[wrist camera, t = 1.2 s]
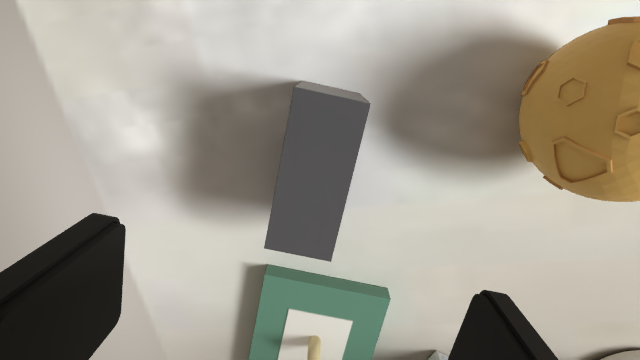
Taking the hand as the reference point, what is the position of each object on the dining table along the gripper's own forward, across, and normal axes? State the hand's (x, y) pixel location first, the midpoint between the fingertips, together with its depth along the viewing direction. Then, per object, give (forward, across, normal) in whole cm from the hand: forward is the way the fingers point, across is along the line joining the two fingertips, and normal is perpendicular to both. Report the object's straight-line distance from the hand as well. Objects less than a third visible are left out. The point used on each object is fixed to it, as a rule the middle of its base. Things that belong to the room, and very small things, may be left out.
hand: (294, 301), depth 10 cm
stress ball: (+18, -16, -7) cm, 25 cm away
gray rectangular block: (+18, 0, 0) cm, 18 cm away
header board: (+18, -3, +18) cm, 26 cm away
